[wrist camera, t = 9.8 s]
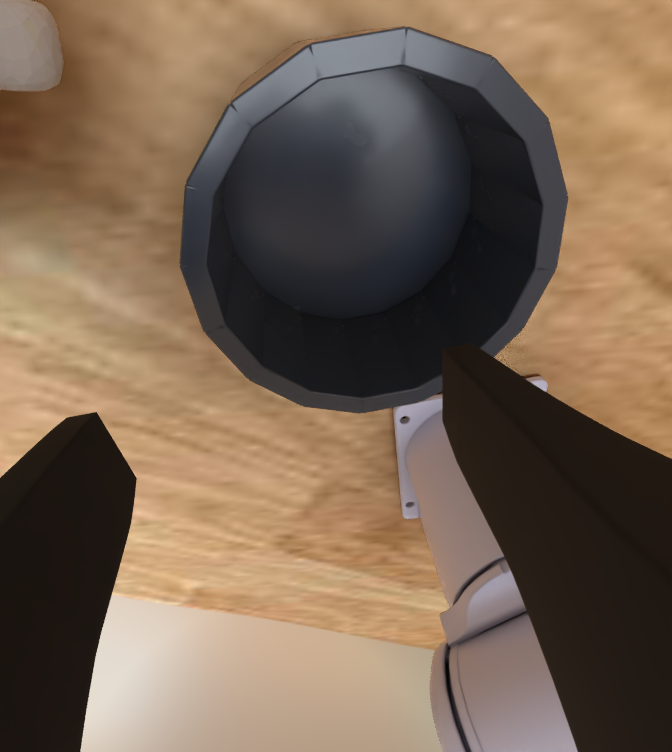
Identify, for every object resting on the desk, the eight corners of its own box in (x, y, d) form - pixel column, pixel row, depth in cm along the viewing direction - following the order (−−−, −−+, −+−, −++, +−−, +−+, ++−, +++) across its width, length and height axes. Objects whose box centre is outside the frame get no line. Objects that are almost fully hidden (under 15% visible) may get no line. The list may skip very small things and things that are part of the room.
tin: (477, 304, 21) (539, 381, 16) (247, 346, 21) (241, 436, 16) (493, 7, 15) (602, -9, 10) (162, 65, 14) (110, 77, 10)
